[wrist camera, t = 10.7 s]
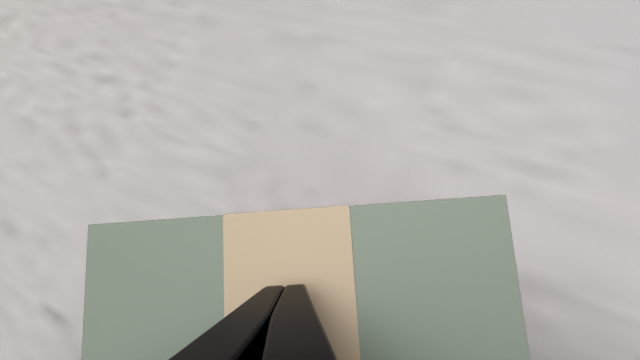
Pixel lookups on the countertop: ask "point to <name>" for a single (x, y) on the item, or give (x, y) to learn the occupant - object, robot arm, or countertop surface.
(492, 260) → the box lid
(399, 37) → the countertop surface
